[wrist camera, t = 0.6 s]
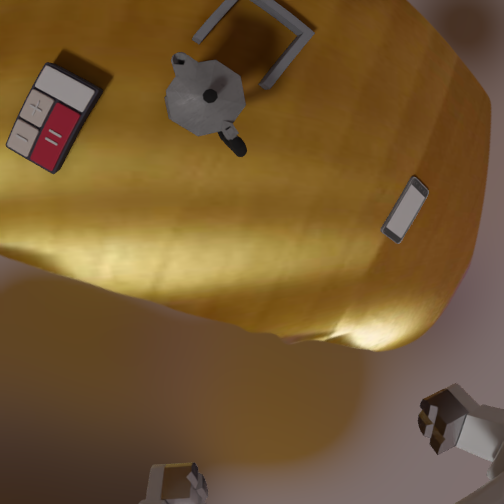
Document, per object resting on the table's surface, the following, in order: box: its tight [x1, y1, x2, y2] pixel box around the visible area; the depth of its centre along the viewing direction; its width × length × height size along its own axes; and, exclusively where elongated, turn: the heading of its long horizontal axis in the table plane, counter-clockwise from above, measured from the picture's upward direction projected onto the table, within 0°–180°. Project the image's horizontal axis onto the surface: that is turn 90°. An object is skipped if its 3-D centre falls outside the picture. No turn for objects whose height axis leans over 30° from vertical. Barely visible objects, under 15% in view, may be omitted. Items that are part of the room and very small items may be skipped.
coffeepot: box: [165, 52, 247, 157], centre depth 39 cm, size 15×9×18 cm, turn 32°
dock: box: [192, 0, 315, 90], centre depth 42 cm, size 15×14×2 cm
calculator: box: [6, 62, 103, 174], centre depth 39 cm, size 11×4×15 cm
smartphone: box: [381, 176, 429, 244], centre depth 67 cm, size 7×1×15 cm
